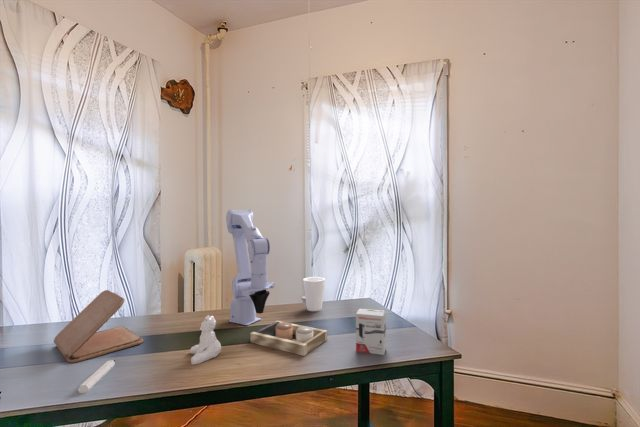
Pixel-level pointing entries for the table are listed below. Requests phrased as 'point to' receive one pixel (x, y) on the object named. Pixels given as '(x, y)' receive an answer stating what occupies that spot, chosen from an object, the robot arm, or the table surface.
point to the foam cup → (314, 292)
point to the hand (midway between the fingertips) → (259, 312)
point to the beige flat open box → (290, 345)
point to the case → (83, 338)
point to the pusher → (269, 329)
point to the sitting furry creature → (206, 342)
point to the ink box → (371, 331)
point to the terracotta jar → (284, 330)
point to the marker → (96, 376)
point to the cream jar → (304, 334)
